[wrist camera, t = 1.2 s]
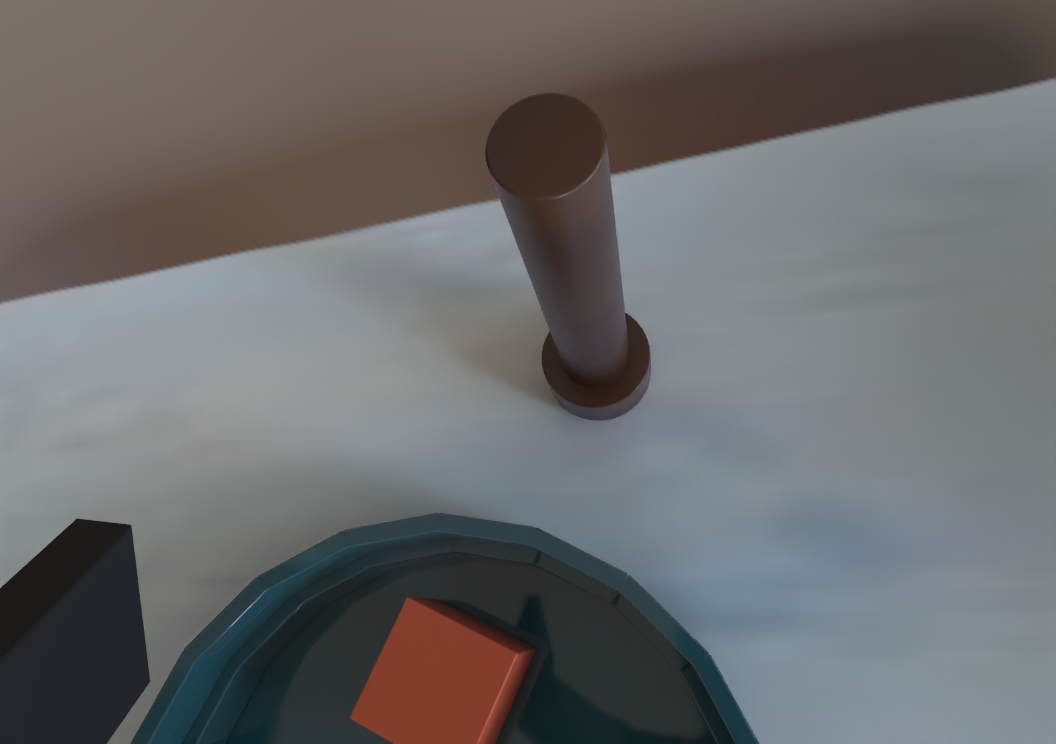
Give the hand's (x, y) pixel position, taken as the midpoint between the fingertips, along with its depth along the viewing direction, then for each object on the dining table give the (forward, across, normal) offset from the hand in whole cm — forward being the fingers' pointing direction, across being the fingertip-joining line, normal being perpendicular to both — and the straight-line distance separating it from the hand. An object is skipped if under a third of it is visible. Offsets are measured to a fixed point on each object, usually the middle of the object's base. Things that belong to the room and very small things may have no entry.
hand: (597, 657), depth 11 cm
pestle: (+20, +1, -4) cm, 21 cm away
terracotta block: (+13, -3, -13) cm, 19 cm away
